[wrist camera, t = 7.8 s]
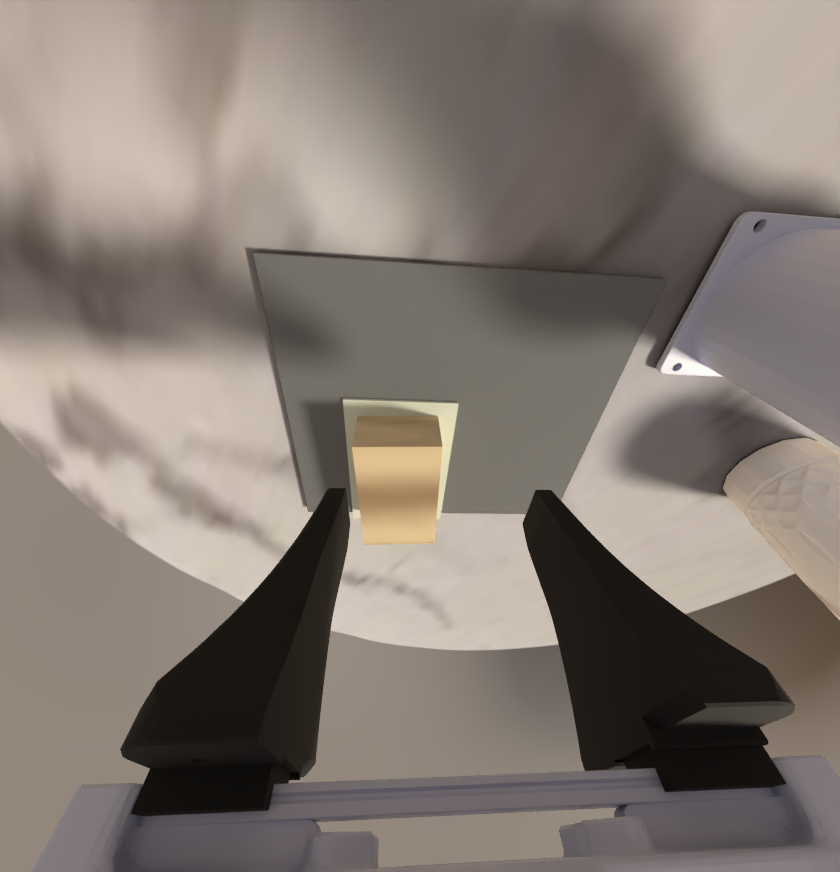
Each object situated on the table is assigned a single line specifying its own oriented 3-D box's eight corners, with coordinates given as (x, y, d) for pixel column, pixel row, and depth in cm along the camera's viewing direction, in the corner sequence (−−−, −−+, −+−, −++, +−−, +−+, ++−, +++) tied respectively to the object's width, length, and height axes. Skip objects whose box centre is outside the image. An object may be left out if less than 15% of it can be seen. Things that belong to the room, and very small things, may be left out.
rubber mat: (661, 278, 17) (669, 280, 16) (550, 514, 28) (553, 519, 28) (255, 251, 15) (251, 253, 15) (310, 511, 27) (308, 517, 26)
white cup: (700, 472, 26) (833, 601, 18) (822, 410, 22) (1051, 534, 15) (728, 516, 29) (849, 640, 21) (837, 468, 26) (1027, 593, 18)
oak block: (431, 510, 26) (434, 543, 24) (367, 511, 26) (364, 544, 24) (438, 416, 21) (442, 446, 18) (357, 416, 20) (351, 447, 18)
